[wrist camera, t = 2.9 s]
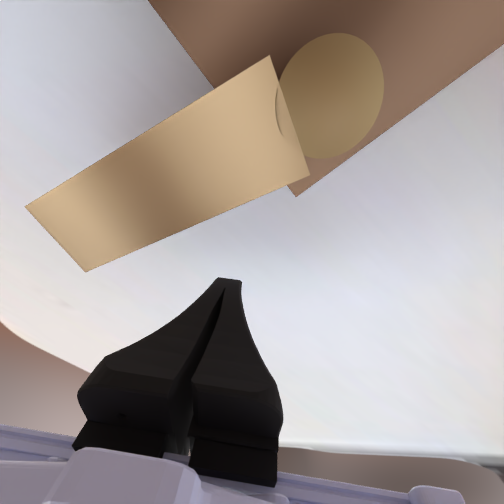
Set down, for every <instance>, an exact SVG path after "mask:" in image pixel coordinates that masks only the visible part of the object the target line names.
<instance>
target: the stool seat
mask: <svg viewBox="0 0 504 504" xmlns="http://www.w3.org/2000/svg"><path fill="white" fill-rule="evenodd" d="M148 1H149V3H150V4H151V5H152V6H153V8H154V9H155V10H156V12H157V13H158V14H159V16H160V17H161V18H162V20H163V21H164V22H165V24H166V25H167V26H168V28H169V29H170V30H171V32H172V33H173V34H174V36H175V37H176V38H177V40H178V41H179V42H180V44H181V45H182V46H183V48H184V49H185V50H186V52H187V53H188V54H189V56H190V57H191V58H192V60H193V61H194V62H195V64H196V65H197V66H198V68H199V69H200V70H201V72H202V73H203V74H204V76H205V77H206V78H207V80H208V81H209V82H210V84H211V85H212V86H213V88H214V89H215V88H217V87H219V86H220V85H222V84H223V83H225V82H227V81H228V80H230V79H232V78H233V77H235V76H236V75H238V74H240V73H241V72H243V71H244V70H246V69H248V68H249V67H251V66H253V65H254V64H256V63H257V62H259V61H261V60H262V59H264V58H265V57H267V56H269V55H270V58H271V61H272V64H273V67H274V70H275V73H276V76H277V78H278V81H279V80H280V78H281V75H282V73H283V71H284V69H285V67H286V66H287V64H288V63H289V61H290V60H291V58H292V57H293V56H294V55H295V54H296V53H297V52H298V51H299V50H300V49H301V48H302V47H303V46H304V45H306V44H307V43H309V42H310V41H312V40H314V39H316V38H318V37H320V36H323V35H326V34H331V33H345V34H350V35H353V36H356V37H358V38H360V39H361V40H363V41H364V42H366V43H367V44H368V45H369V46H370V47H371V48H372V50H373V51H374V52H375V54H376V56H377V57H378V59H379V62H380V64H381V67H382V71H383V77H384V94H383V101H382V105H381V108H380V111H379V114H378V116H377V118H376V120H375V122H374V124H373V126H372V127H371V129H370V130H369V132H368V133H367V134H366V136H365V137H364V138H363V139H362V140H361V141H360V142H359V143H358V144H357V145H355V146H354V147H353V148H351V149H350V150H348V151H347V152H345V153H343V154H340V155H338V156H335V157H331V158H324V159H316V158H310V157H307V156H304V158H305V161H306V164H307V167H308V170H309V173H310V175H309V176H307V177H305V178H302V179H300V180H298V181H295V182H293V183H291V184H288V185H287V186H288V187H289V189H290V190H291V191H292V193H293V194H294V195H295V197H297V196H298V195H300V194H301V193H303V192H304V191H305V190H307V189H308V188H309V187H311V186H312V185H313V184H315V183H316V182H317V181H319V180H320V179H321V178H323V177H324V176H326V175H327V174H328V173H330V172H331V171H332V170H334V169H335V168H336V167H338V166H339V165H340V164H342V163H343V162H345V161H346V160H347V159H349V158H350V157H351V156H353V155H354V154H355V153H357V152H358V151H359V150H361V149H362V148H364V147H365V146H366V145H368V144H369V143H370V142H372V141H373V140H374V139H376V138H377V137H378V136H380V135H381V134H383V133H384V132H385V131H387V130H388V129H389V128H391V127H392V126H393V125H395V124H396V123H397V122H399V121H400V120H401V119H403V118H404V117H406V116H407V115H408V114H410V113H411V112H412V111H414V110H415V109H416V108H418V107H419V106H420V105H422V104H423V103H425V102H426V101H427V100H429V99H430V98H431V97H433V96H434V95H435V94H437V93H438V92H439V91H441V90H442V89H444V88H445V87H446V86H448V85H449V84H450V83H452V82H453V81H454V80H456V79H457V78H458V77H460V76H461V75H462V74H464V73H465V72H467V71H468V70H469V69H471V68H472V67H473V66H475V65H476V64H477V63H479V62H480V61H481V60H483V59H484V58H486V57H487V56H488V55H490V54H491V53H492V52H494V51H495V50H496V49H498V48H499V47H500V46H502V45H503V44H504V0H148Z"/></svg>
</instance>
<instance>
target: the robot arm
mask: <svg viewBox="0 0 504 504" xmlns="http://www.w3.org/2000/svg"><path fill="white" fill-rule="evenodd" d="M241 287H242V282H241V281H240V280H234V279H226V278H219V277H218V278H217V279H216V280H215V281H214V282H213V283H212V284H211V286H210V287H209V288H208V289H207V290H206V291H205V292H204V293H203V294H202V295H201V296H200V297H199V298H198V299H197V300H196V301H195V302H194V303H193V304H192V305H190V306H189V307H188V308H187V309H186V310H185V311H184V312H182V313H181V314H180V315H179V316H177V317H176V318H175V319H173V320H172V321H170V322H169V323H168V324H166V325H165V326H163V327H162V328H160V329H159V330H157V331H155V332H154V333H152V334H150V335H148V336H147V337H145V338H143V339H141V340H139V341H138V342H136V343H134V344H132V345H130V346H128V347H125V348H123V349H121V350H119V351H116V352H114V353H112V354H110V355H107V356H105V357H104V359H103V360H102V361H101V362H100V363H99V364H98V365H97V366H96V368H95V369H94V370H93V372H92V373H91V374H90V376H89V377H88V378H87V380H86V381H85V382H84V384H83V385H82V386H81V388H80V389H79V391H78V394H77V398H78V401H79V404H80V406H81V408H82V410H83V412H84V414H85V415H86V418H87V422H86V424H85V425H84V427H83V428H82V430H81V431H80V433H79V434H78V436H77V437H73V436H68V435H62V434H56V433H50V432H44V431H38V430H32V429H27V428H21V427H15V426H9V425H3V424H0V504H466V503H465V501H464V499H463V497H462V495H461V493H459V492H458V491H456V490H450V489H443V488H438V487H431V486H423V485H421V486H416V487H413V488H412V489H411V490H410V491H409V493H408V494H407V493H401V492H395V491H390V490H384V489H378V488H372V487H366V486H360V485H354V484H348V483H342V482H337V481H331V480H325V479H319V478H313V477H307V476H302V475H296V474H290V473H284V472H278V471H277V452H278V437H279V433H280V430H281V427H282V424H283V410H282V404H281V399H280V396H279V392H278V388H277V385H276V382H275V380H274V379H273V377H272V376H271V374H270V372H269V371H268V369H267V367H266V365H265V364H264V362H263V360H262V358H261V356H260V354H259V352H258V350H257V348H256V345H255V343H254V341H253V338H252V336H251V333H250V330H249V328H248V324H247V321H246V317H245V314H244V309H243V304H242V297H241ZM189 449H190V453H191V456H188V453H189Z"/></svg>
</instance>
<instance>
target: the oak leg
mask: <svg viewBox="0 0 504 504" xmlns="http://www.w3.org/2000/svg"><path fill="white" fill-rule="evenodd" d="M383 94H384V77H383V71H382V67H381V64H380V62H379V59H378V57H377V56H376V54H375V52H374V51H373V50H372V48H371V47H370V46H369V45H368V44H367V43H366V42H364V41H363V40H361V39H360V38H358V37H356V36H353V35H350V34H345V33H331V34H326V35H323V36H320V37H318V38H316V39H314V40H312V41H310V42H309V43H307V44H306V45H304V46H303V47H302V48H301V49H300V50H299V51H298V52H297V53H296V54H295V55H294V56H293V57H292V58H291V60H290V61H289V63H288V64H287V66H286V67H285V69H284V71H283V73H282V75H281V78H280V80H279V81H278V78H277V76H276V73H275V70H274V67H273V64H272V61H271V58H270V55H269V56H267V57H265V58H264V59H262V60H261V61H259V62H257V63H256V64H254V65H253V66H251V67H249V68H248V69H246V70H244V71H243V72H241V73H240V74H238V75H236V76H235V77H233V78H232V79H230V80H228V81H227V82H225V83H223V84H222V85H220V86H219V87H217V88H215V89H214V90H212V91H211V92H209V93H207V94H206V95H204V96H202V97H201V98H199V99H198V100H196V101H194V102H193V103H191V104H190V105H188V106H186V107H185V108H183V109H181V110H180V111H178V112H177V113H175V114H173V115H172V116H170V117H169V118H167V119H165V120H164V121H162V122H160V123H159V124H157V125H156V126H154V127H152V128H151V129H149V130H148V131H146V132H144V133H143V134H141V135H139V136H138V137H136V138H135V139H133V140H131V141H130V142H128V143H126V144H125V145H123V146H122V147H120V148H118V149H117V150H115V151H114V152H112V153H110V154H109V155H107V156H105V157H104V158H102V159H101V160H99V161H97V162H96V163H94V164H93V165H91V166H89V167H88V168H86V169H84V170H83V171H81V172H80V173H78V174H76V175H75V176H73V177H72V178H70V179H68V180H67V181H65V182H63V183H62V184H60V185H59V186H57V187H55V188H54V189H52V190H51V191H49V192H47V193H46V194H44V195H42V196H41V197H39V198H38V199H36V200H34V201H33V202H31V203H30V204H28V205H26V206H25V208H26V209H27V210H28V211H29V212H30V213H31V214H32V215H33V217H34V218H35V219H36V220H37V221H38V222H39V223H40V224H41V225H42V226H43V227H44V228H45V229H46V231H47V232H48V233H49V234H50V235H51V236H52V237H53V238H54V239H55V240H56V241H57V242H58V243H59V245H60V246H61V247H62V248H63V249H64V250H65V251H66V252H67V253H68V254H69V255H70V256H71V258H72V259H73V260H74V261H75V262H76V263H77V264H78V265H79V266H80V267H81V268H82V269H83V270H84V272H88V271H90V270H92V269H94V268H97V267H99V266H101V265H104V264H106V263H108V262H111V261H113V260H115V259H118V258H120V257H122V256H124V255H127V254H129V253H131V252H134V251H136V250H138V249H141V248H143V247H145V246H148V245H150V244H152V243H154V242H157V241H159V240H161V239H164V238H166V237H168V236H171V235H173V234H175V233H178V232H180V231H182V230H185V229H187V228H189V227H191V226H194V225H196V224H198V223H201V222H203V221H205V220H208V219H210V218H212V217H215V216H217V215H219V214H221V213H224V212H226V211H228V210H231V209H233V208H235V207H238V206H240V205H242V204H245V203H247V202H249V201H251V200H254V199H256V198H258V197H261V196H263V195H265V194H268V193H270V192H272V191H275V190H277V189H279V188H282V187H284V186H286V185H288V184H291V183H293V182H295V181H298V180H300V179H302V178H305V177H307V176H309V175H310V173H309V170H308V167H307V164H306V161H305V158H304V156H307V157H310V158H316V159H324V158H331V157H335V156H338V155H340V154H343V153H345V152H347V151H348V150H350V149H351V148H353V147H354V146H355V145H357V144H358V143H359V142H360V141H361V140H362V139H363V138H364V137H365V136H366V134H367V133H368V132H369V130H370V129H371V127H372V126H373V124H374V122H375V120H376V118H377V116H378V114H379V111H380V108H381V105H382V101H383Z"/></svg>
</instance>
